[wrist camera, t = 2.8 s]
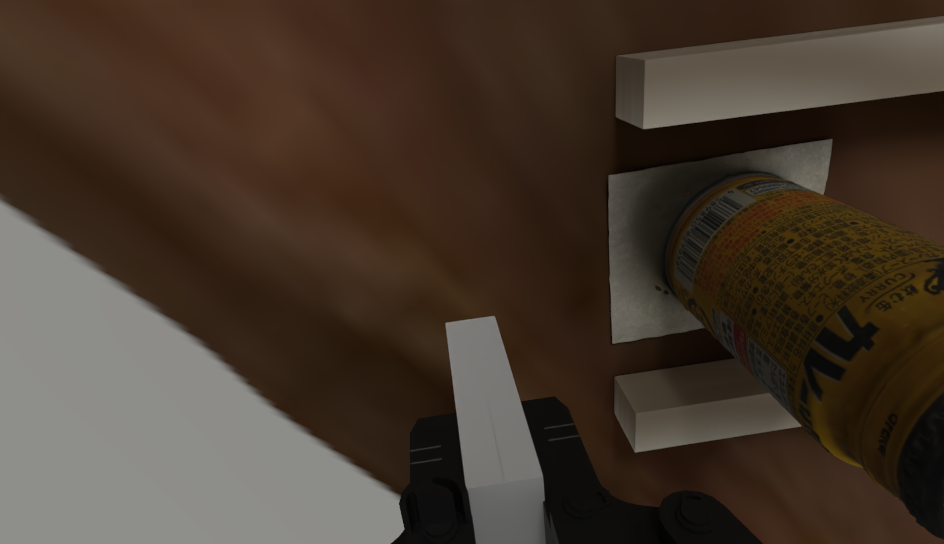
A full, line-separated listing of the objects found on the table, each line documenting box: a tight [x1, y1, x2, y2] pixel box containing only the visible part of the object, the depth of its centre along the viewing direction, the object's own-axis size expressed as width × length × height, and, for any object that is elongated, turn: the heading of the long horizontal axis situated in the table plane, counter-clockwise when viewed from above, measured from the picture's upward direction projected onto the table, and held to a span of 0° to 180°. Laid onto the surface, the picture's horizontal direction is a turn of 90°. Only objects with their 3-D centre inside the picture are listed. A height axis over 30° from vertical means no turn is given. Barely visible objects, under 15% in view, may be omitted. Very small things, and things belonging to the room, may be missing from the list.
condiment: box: [608, 139, 944, 539], centre depth 16 cm, size 7×8×12 cm
